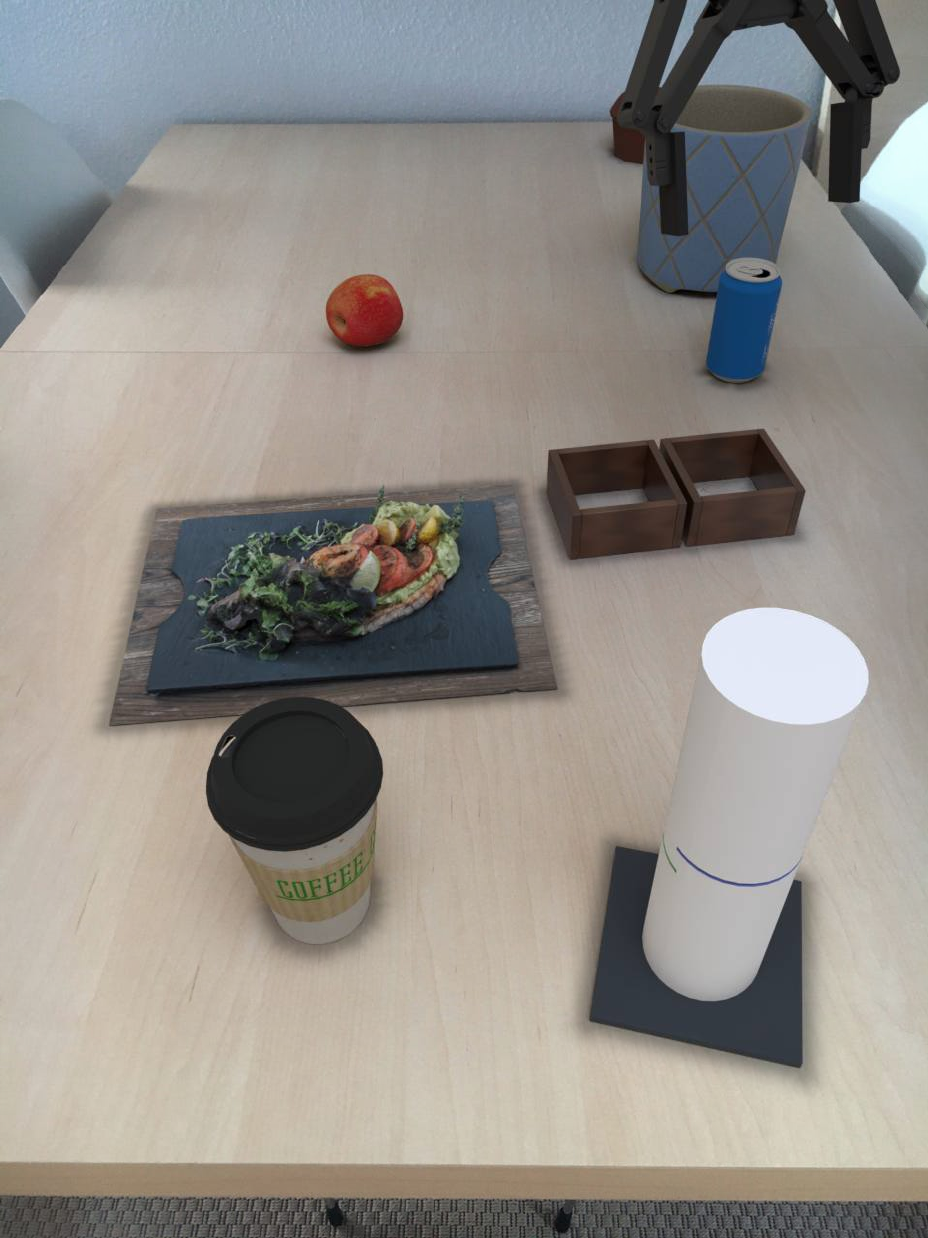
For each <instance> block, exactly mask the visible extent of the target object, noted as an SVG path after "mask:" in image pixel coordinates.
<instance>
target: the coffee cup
mask: <svg viewBox="0 0 928 1238" xmlns="http://www.w3.org/2000/svg"><path fill="white" fill-rule="evenodd" d="M230 741H231V742H230ZM229 742H230V743H229ZM224 748H225V749H224ZM223 749H224V750H223ZM222 751H223V752H222ZM221 752H222V754H221ZM220 754H221V755H220ZM205 778H206V780H205V797H206V802H207V807H208V810H209V811H210V813H211V816H212V818H213V820H214V821H215V822H216V824H217V825H218V826H219V827H220V829H221V830H222V831H223V832H224V833H226V834H227V835H228V837H229V839H230V841H231V843H232V845H233V848H234V850H235V851H236V852H237V854H238V856H239V858H240V860H241V861H242V863H243V866H244V867H245V869H246V871H247V872H248V874H249V877H251V880H252V881H253V884H254V886H255V887H256V889H257V891H258V893H259V894H260V896H261V898H262V900H263V902H265V904H266V905H267V906H268V908H269V909H270V910H271V912H272V914H273V916H274V917H275V919H276V921H277V923H278V925H279V927H280V929H282V931H283V932H284V933H285V934H287V935H288V936H289V937H290V938H292V939H294V940H296V941H298V942H301V943H304V944H308V945H326V944H330V943H333V942H336V941H339V940H341V939H343V938H345V937H347V936H348V935H350V934H351V933H353V932H354V931H355V930H356V929H357V928H358V926H360V924H361V923H362V922H363V921H364V919H365V917H366V915H367V912H368V910H369V906H370V900H371V885H372V884H371V883H372V879H373V875H374V867H375V854H376V853H375V852H376V836H377V835H376V834H377V819H378V796H379V793H380V791H381V789H382V784H383V778H384V765H383V758H382V755H381V753H380V749H379V746H378V745H377V742H376V740H375V738H374V737H373V735H372V734H371V733H370V731H369V729H367V728H366V727H365V726H364V725H363V724H362V723H361V722H360V721H359V720H358V719H357V718H356V717H355V716H354V714H352V713H351V712H350V711H349V710H347V709H345V708H344V707H343V706H339V705H337V704H335V703H332V702H329V701H327V700H323V699H318V698H313V697H291V698H282V699H278V700H274V701H270V702H267V703H265V704H262V705H260V706H257V707H255V708H254V709H252V710H250V711H248V712H247V713H245V714H241V715H240V716H239V717H238V718H237V719H236V720H234V721H233V722H232V723H231V724H230V725H229V727H228V728H227V729H226V730H225V731H224V732H223V733H222V735H221V737H220V738H219V741H218V742H217V744H216V746H215V749H214V753H213V755H212V757H211V759H210V762H209V765H208V769H207V772H206V777H205Z"/></svg>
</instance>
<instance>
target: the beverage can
mask: <svg viewBox="0 0 928 1238" xmlns="http://www.w3.org/2000/svg"><path fill="white" fill-rule="evenodd" d="M782 287H783V280H782V277H781V268H780V267H779V265H777V263H776V264H774V263H773V262H770V261H767V260H764V259H759V258H739V259H735V260H732V261H730V262H728V263H727V265H726V268H725V271H724V272H723V273H722V274H721V276H720V279H719V285H718V291H717V292H716V298H715V303H714V310H713V317H712V321H711V328H710V335H709V341H708V347H707V353H706V359H705V366H706V368H707V370H708V371H709V372H710V373H712V374H713V376H714V377H716V378H717V379H719V380H721V381H724V382H728V383H737V384H741V383H747V382H750V381H752V380H754V379H755V378H758V377H759V376H761V375H762V374H763V373H764V371H765V368H766V363H767V358H768V354H769V349H770V344H771V339H772V334H773V330H774V325H775V321H776V315H777V311H778V306H779V301H780V296H781V292H782Z"/></svg>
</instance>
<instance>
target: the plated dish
mask: <svg viewBox="0 0 928 1238" xmlns="http://www.w3.org/2000/svg"><path fill="white" fill-rule="evenodd" d="M385 488H386V486H385V485H382V487H380V488H379V490H378V493H377V492H376V493H361V494H350V495H349V494H345V495H332V496H320V497H319V496H318V497H303V498H289V499H287V498H286V499H273V500H272V499H271V500H260V501H259V500H257V501H242V502H241V501H240V502H229V503H228V502H227V503H214V504H212V503H211V504H200V505H199V504H197V505H188V506H187V505H184V506H169V507H168V506H167V507H166V506H165V507H157V508H156V511H155V515H154V519H153V524H152V529H151V533H150V536H149V541H148V545H147V551H146V555H145V559H144V563H143V568H142V573H141V578H140V583H139V586H138V592H137V595H136V600H135V604H134V609H133V613H132V614H133V615H132V619H131V623H130V627H129V632H128V637H127V642H126V645H125V650H124V656H123V659H122V664H121V669H120V673H119V678H118V683H117V688H116V691H115V697H114V701H113V706H112V710H111V714H110V718H109V723H108V726H119V725H120V726H121V725H122V726H123V725H130V724H131V725H132V724H142V723H143V724H145V723H155V722H167V721H168V722H169V721H180V720H192V719H204V718H216V717H226V716H227V717H229V716H238V715H239V716H242V715H243V714H245V713H247V712H248V711H250V710H252V709H254V708H255V707H257V706H260V705H262V704H265V703H267V702H270V701H274V700H278V699H282V698H291V697H313V698H318V699H323V700H327V701H329V702H332V703H335V704H337V705H339V706H341V707H346V706H347V707H348V706H361V705H370V704H371V705H373V704H382V703H394V702H407V701H420V700H421V701H423V700H434V699H445V698H455V697H456V698H457V697H471V696H481V695H483V696H484V695H495V694H506V693H510V692H512V693H513V692H514V691H519V692H529V691H530V692H533V691H544V690H556V689H558V685H557V681H556V675H555V672H554V667H553V663H552V658H551V653H550V649H549V644H548V640H547V634H546V630H545V626H544V625H545V624H544V621H543V617H542V611H541V606H540V603H539V598H538V593H537V589H536V585H535V579H534V576H533V571H532V566H531V561H530V557H529V552H528V548H527V543H526V538H525V533H524V529H523V525H522V521H521V516H520V515H521V514H520V512H519V507H518V506H519V505H518V501H517V497H516V493H515V488H514V484H513V483H511V484H498V485H495V484H494V485H480V486H468V487H466V486H465V487H450V488H439V489H438V488H437V489H436V488H435V489H423V490H422V489H421V490H406V491H389V492H385ZM252 620H253V621H252ZM255 620H256V621H255ZM247 621H252V624H251V625H249V626H248V627H247V628H244V629H242V630H240V632H239V631H238V630H239V629H241V628H243V627H245V626H246V623H247Z"/></svg>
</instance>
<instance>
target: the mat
mask: <svg viewBox="0 0 928 1238" xmlns="http://www.w3.org/2000/svg"><path fill="white" fill-rule="evenodd" d="M658 856H659V853H655V852H650V851H645V850H640V849H634V848H630V847H625V846H619V845H616V846H615V850H614V857H613V864H612V869H611V877H610V882H609V889H608V890H609V891H608V896H607V903H606V910H605V915H604V916H605V917H604V922H603V929H602V934H601V935H602V936H601V942H600V949H599V955H598V962H597V968H596V969H597V970H596V974H595V982H594V989H593V993H592V994H593V995H592V1001H591V1006H590V1015H589V1021H590V1022H593V1023H597V1024H602V1025H607V1026H611V1027H616V1028H619V1029H623V1030H624V1029H625V1030H630V1031H634V1032H637V1033H642V1034H647V1035H651V1036H656V1037H661V1038H664V1039H669V1040H674V1041H678V1042H683V1043H686V1044H687V1043H688V1044H692V1045H696V1046H700V1047H705V1048H709V1049H713V1050H718V1051H723V1052H727V1053H731V1054H736V1055H741V1056H745V1057H750V1058H754V1059H759V1060H763V1061H767V1062H772V1063H777V1064H781V1065H785V1066H789V1067H795V1068H798V1069H800V1068H801V1067H802V1066H803V1062H804V1060H803V1059H804V1058H803V1054H804V1053H803V1050H804V1049H803V1047H804V1046H803V1045H804V1044H803V899H802V897H803V896H802V895H803V894H802V893H803V892H802V891H803V889H802V887H803V885H802V884H803V883H802V880H798V879H794V880H793V882H792V885H791V887H790V890H789V893H788V895H787V898H786V900H785V903H784V905H783V908H782V911H781V913H780V916H779V918H778V921H777V923H776V926H775V929H774V931H773V934H772V936H771V939H770V942H769V944H768V947H767V949H766V952H765V954H764V957H763V960H762V962H761V965H760V967H759V970H758V972H757V975H756V976H755V978H754V980H753V981H752V983H751V984H750V985H749V986H748V987H747V988H746V989H745V990H744V991H742V992H741V993H739V994H738V995H736V996H734V997H731V998H729V999H726V1000H719V1001H701V1000H696V999H692V998H689V997H686V996H684V995H682V994H679V993H677V992H676V991H674V990H673V989H671V988H670V987H668V986H667V985H666V984H665V983H663V982H662V981H661V980H660V979H659V978H658V977H657V975H656V974H655V973H654V971H653V970H652V969H651V967H650V965H649V963H648V961H647V959H646V956H645V953H644V950H643V941H642V935H643V928H644V923H645V918H646V913H647V909H648V904H649V899H650V894H651V890H652V885H653V880H654V875H655V871H656V866H657V861H658Z"/></svg>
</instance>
